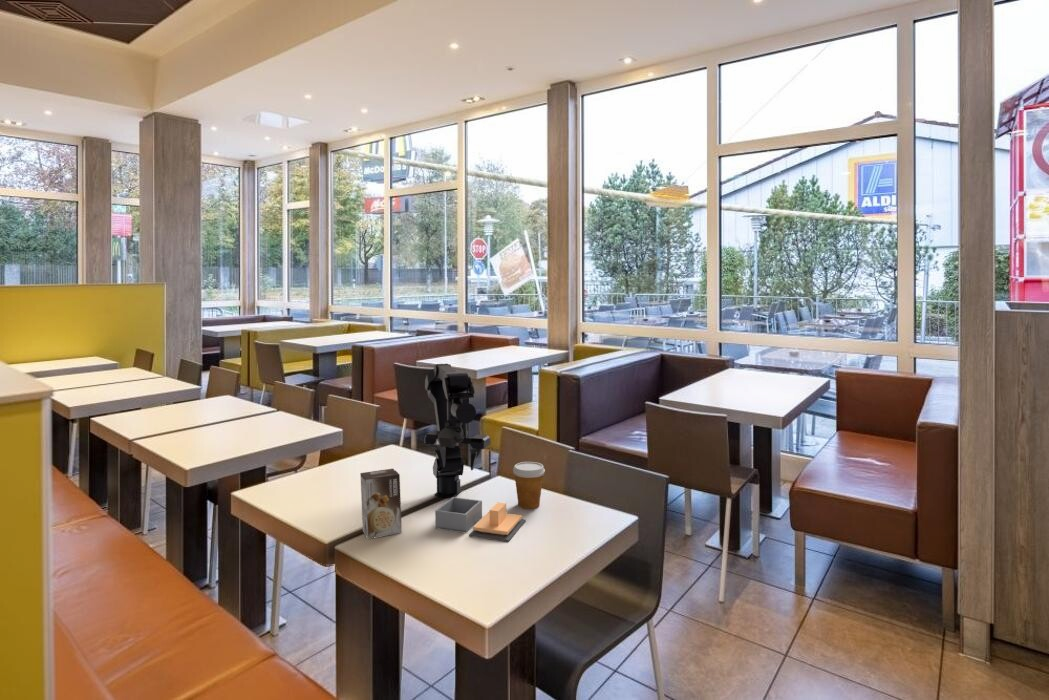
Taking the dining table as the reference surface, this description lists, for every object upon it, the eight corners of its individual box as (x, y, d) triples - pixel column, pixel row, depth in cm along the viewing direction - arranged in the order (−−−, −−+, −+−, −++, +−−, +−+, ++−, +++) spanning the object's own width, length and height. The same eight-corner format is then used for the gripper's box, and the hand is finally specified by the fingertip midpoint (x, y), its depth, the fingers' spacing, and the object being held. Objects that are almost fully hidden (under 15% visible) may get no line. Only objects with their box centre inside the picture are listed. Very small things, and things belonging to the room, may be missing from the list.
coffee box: (395, 524, 162) (394, 467, 161) (402, 533, 157) (401, 474, 155) (361, 530, 158) (360, 472, 157) (367, 540, 153) (365, 479, 151)
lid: (473, 532, 156) (473, 512, 155) (489, 516, 167) (489, 497, 166) (507, 537, 153) (507, 516, 152) (521, 520, 164) (521, 501, 163)
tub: (435, 528, 160) (435, 510, 159) (452, 513, 170) (452, 496, 170) (466, 533, 157) (466, 514, 156) (482, 517, 167) (481, 500, 167)
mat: (469, 536, 155) (469, 534, 155) (488, 516, 168) (488, 514, 168) (508, 541, 152) (508, 539, 152) (525, 521, 165) (525, 519, 165)
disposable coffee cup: (545, 500, 181) (546, 461, 180) (543, 511, 172) (543, 471, 171) (514, 498, 182) (514, 460, 181) (511, 510, 173) (511, 470, 172)
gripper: (414, 419, 167) (415, 473, 169) (476, 424, 161) (476, 480, 163) (432, 411, 177) (433, 462, 179) (491, 416, 172) (491, 468, 173)
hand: (457, 468), depth 173 cm, fingers open, 9 cm apart
